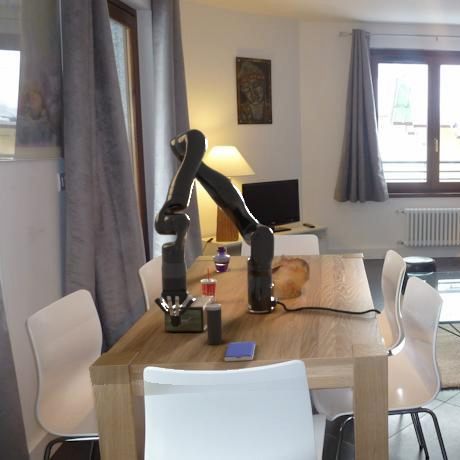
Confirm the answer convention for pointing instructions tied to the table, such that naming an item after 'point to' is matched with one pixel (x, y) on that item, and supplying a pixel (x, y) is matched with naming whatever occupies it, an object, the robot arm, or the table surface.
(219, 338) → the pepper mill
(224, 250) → the potion bottle
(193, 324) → the drawer
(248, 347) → the hard drive
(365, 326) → the table surface
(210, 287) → the beverage cup
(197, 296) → the cabinet
